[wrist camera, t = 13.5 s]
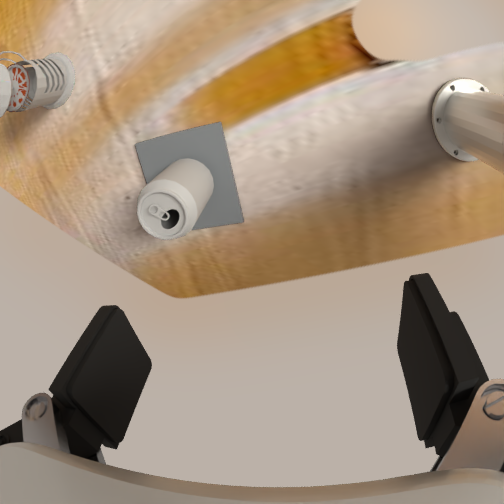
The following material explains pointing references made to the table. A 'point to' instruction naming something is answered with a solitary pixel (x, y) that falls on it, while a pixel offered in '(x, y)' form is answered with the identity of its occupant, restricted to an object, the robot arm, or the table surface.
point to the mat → (208, 153)
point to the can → (175, 199)
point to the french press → (36, 83)
